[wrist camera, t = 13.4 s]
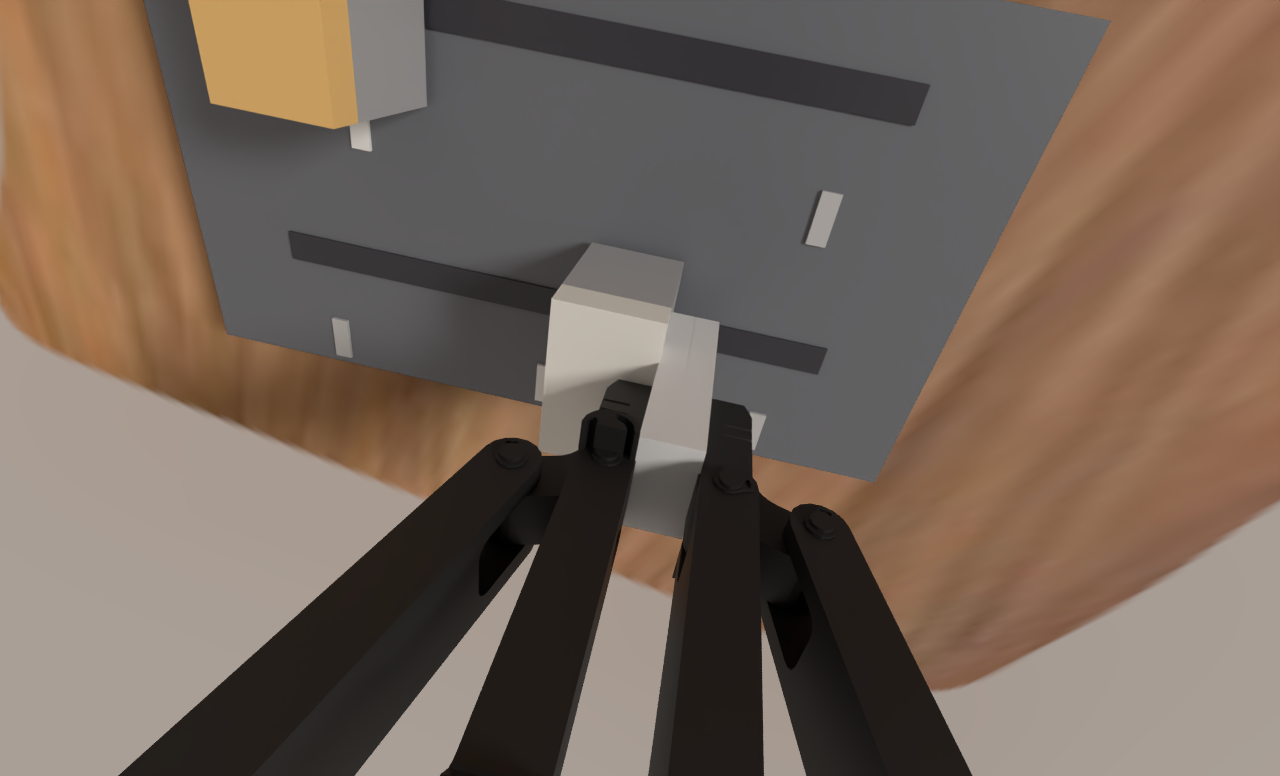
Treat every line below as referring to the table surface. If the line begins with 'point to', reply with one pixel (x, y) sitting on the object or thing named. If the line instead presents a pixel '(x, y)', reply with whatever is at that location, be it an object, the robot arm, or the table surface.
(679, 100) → the console
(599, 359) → the block
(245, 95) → the amber fader
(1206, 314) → the table surface
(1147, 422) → the table surface
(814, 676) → the robot arm
